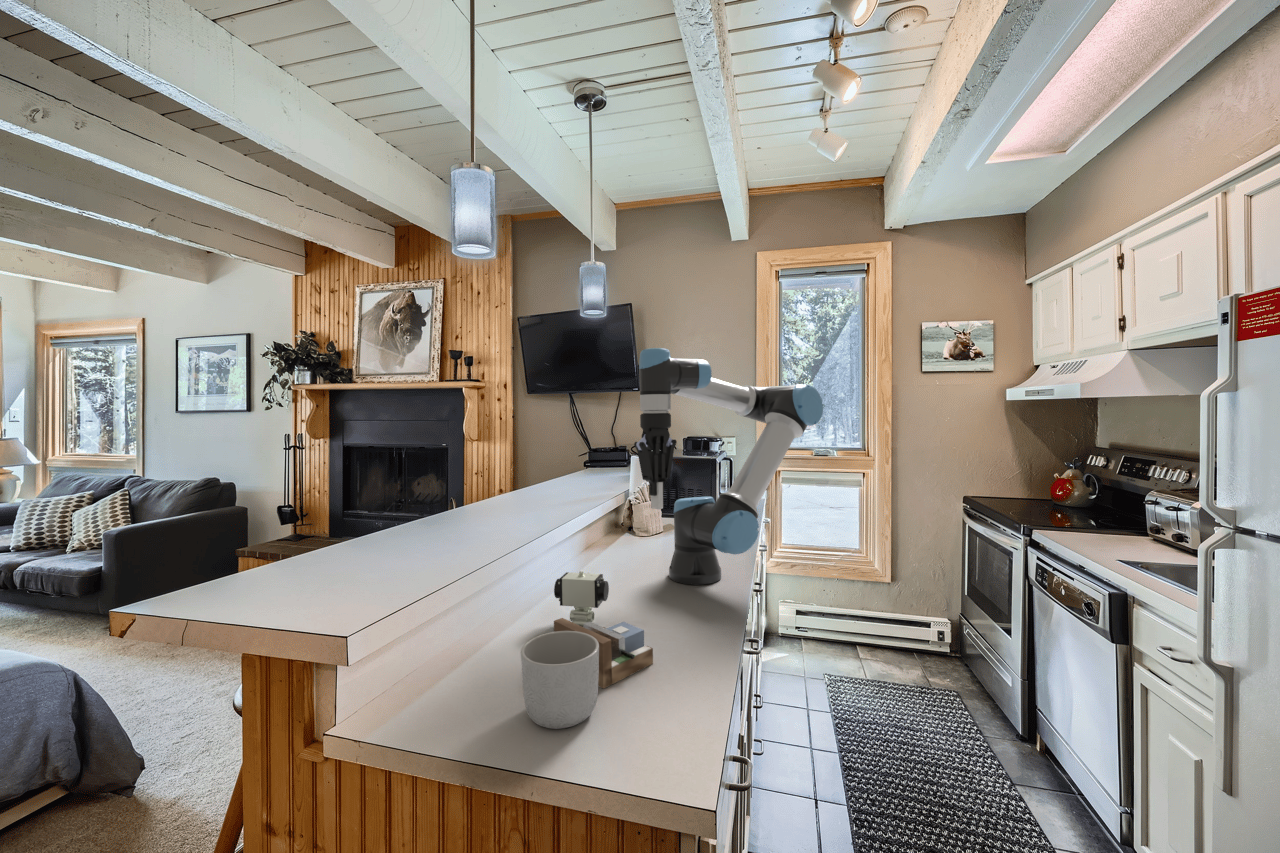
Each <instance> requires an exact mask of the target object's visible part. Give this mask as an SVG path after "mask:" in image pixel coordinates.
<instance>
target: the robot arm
mask: <svg viewBox="0 0 1280 853" xmlns="http://www.w3.org/2000/svg"><path fill="white" fill-rule="evenodd" d="M638 364H639V365H638V369H639V371H638V372H639V404H640V406H639V409H640V412H642V413H641V414H640V417H639V418H640V420H639V421H640V422H639V423H640V428H641V429H642V434H641V438H640V439H639V440H638V441H635V442H634V443H633V446H634V447H635V450H636V452H637V455H638V456H637V457H638V461H639V462H638V463H639V467H640V472H641V473H640V474H641V476H642V477H641V478H642V480H643V481H646V482H648V484H649V485H648V486H649V488H648V489H649V490H648V492H649V493H648V494H649V495H650V509H654V510H662V509H664V493H665V482H667V481H668V480H669V479H670V477H671V473H672V467H673V466H672V465H673V458H674V453H675V452H674V450H675V448H676V445H677V443H678V442H677V440H676V439H673V438H671V434H670V432H669V429H670V428H671V427H672V414H671V413H670V412H669V411H671V410H672V400H671V398H672V396H671V395H676V396H678V397H682V398H686V399H690V400H694V401H696V402H697V401H698V402H701V403H705V404H708V405H712V406H715V407H720V408H724V409H727V410H730V411H731V410H732V411H733V412H735V413H736V414H737V415H738V416H740V417H745V418H747V419H751V420H755V421H757V422H761V423H765V424H766V425H765V427H764V428H763V430H762V432H761V434H760V436H759V437H758V439H757V440H756V442H755V444H754V446H753V448H752V449H751V452H750V453H749V454H748V456H747V458H746V460H745V462H744V463H743V465H742V467H741V469H740V471H739V473H737V476H736V477H735V479H734V480H733V483H732V485H731V486H730V488H729V489H728V491H725V492H723V493H720V494H719V496H718V498H717V499H716V501H715V498H714V497H713V496H694V497H684V498H679V499H676V501H675V502H674V503H673V504H674V506H673V522H674V523H673V524H674V525H673V529H674V530H673V531H674V533H673V534H674V537H673V538H674V551H673V555H672V557H671V562H670V565H669V567H668V578H669V579H670V580H672V581H674V582H676V583H679V584H684V585H691V586H692V585H696V586H697V585H701V586H702V585H709V584H713V583H717V582H719V581H720V580H721V579H722V568H721V566H720V563H719V560H718V556H717V553H716V551H718V552H721V553H723V554H730V555H740V554H744V553H746V552H747V551H749V550H750V549H751V548H752V547H753V546H754V545H755V543H756V542H757V540H758V536H759V534H760V533H759V532H760V531H759V530H758V529H759V528H760V526H759V521H758V517H759V512H758V510H757V508H758V506H759V503H760V502H761V500H762V498H763V496H764V494H765V493H766V491H767V489H768V487H769V485H770V483H771V481H772V480H773V478H774V476H775V474H776V472H777V470H778V469H779V467H780V465H781V464H782V461H783V459H784V458H785V456H786V454H787V452H788V450H789V448H790V447H791V445H792V443H793V441H794V439H797V438H801V437H802V436H803V434H804V433H805V430H806V429H807V427H808V426H811V427H812V426H814V425H817V424H818V423H819V422H820V421H821V419H822V417H823V413H824V404H823V399H822V396H821V394H820V392H819V390H818V389H817V388H815V387H814V386H813V385H810V384H802V383H797V384H793V385H777V386H776V385H773V386H752V385H750V384H744V385H742V386H741V385H737V384H734V383H731V382H727V381H723V380H721V379H717V378H714V377H712V374H713V373H712V367H711V365H710V363H709V362H708V361H707V360H705V359H699V358H676V357H675V358H674V357H672V356H671V352H670V350H669V349H668V348H664V347H652V348H645V349H642V350H641V351H640V353H639V363H638Z"/></svg>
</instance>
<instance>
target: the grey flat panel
mask: <svg viewBox="0 0 1280 853" xmlns="http://www.w3.org/2000/svg"><path fill="white" fill-rule="evenodd" d="M583 627H584V628H586V629H588V630H590V631H593V632H595V633H597V634H599V635H601V636H604V637H606V638H608V639H610V640H611V653H612V661H613V660H614V659H616V658H618V657H620V656H623V655H625V656H627V657H629V658H631V659H634V655H633V654H631V653H629V652H627V651H625V637H624V636H622V635H620V634H617V633H615V632H613V631H610V630H608V629H606V628H607V627H605V628H603V627H604V626H601V625H599V624H597V623H594V622H590V621H589V622H587V623H584V626H583Z"/></svg>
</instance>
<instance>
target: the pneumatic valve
mask: <svg viewBox="0 0 1280 853" xmlns="http://www.w3.org/2000/svg"><path fill="white" fill-rule="evenodd" d="M609 586H610V585H609V582H608V581H607V580H605V578H604V574H603V573H589V572H587V573H585V572H584V570H579V572H567V571H566V572H565V573H564V574H563V575H562V576H561V577H559V578H556V581H555V583H554V587H553V595H554V597H555V599H558V602H559V606H560V607H561V606H563V607H573V608H574V609H571V610H570V612H569V621H570V622H573V623H575V624H577V625H579V626H582V627H584V623H587V622H589V621H590V622H592V623H594V620H595V611H594V610H593V608H595V609H597V608H599V607H600V606H601V604H602V603H603V602H607V600H608V598H609V590H610V588H609Z"/></svg>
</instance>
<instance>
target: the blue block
mask: <svg viewBox="0 0 1280 853" xmlns="http://www.w3.org/2000/svg"><path fill="white" fill-rule="evenodd" d="M605 628H606V629H608V630H610V631H613V632H615V633H617V634H620V635H622V636H624V637H625V651H627V652H629V653H631V652H633V651H635V650H637V649H639V648H641V647H643V646H645V630H644V629H642V628H640V627H638V626H636V625H633V624H630V623H628V622H625V621H622V622H619V623H616V624H615V625H611V626H609V627H605Z"/></svg>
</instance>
